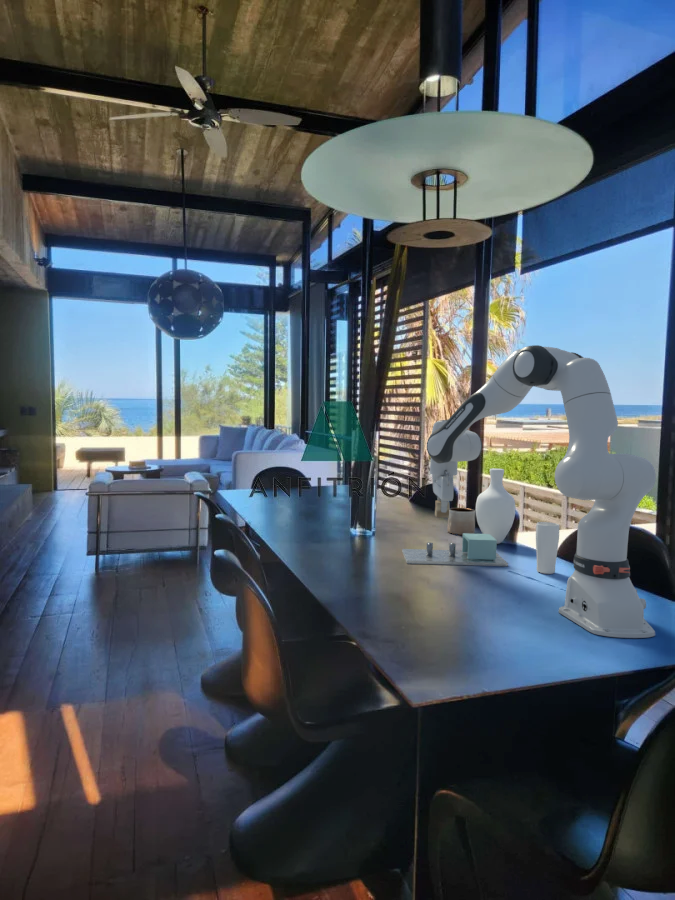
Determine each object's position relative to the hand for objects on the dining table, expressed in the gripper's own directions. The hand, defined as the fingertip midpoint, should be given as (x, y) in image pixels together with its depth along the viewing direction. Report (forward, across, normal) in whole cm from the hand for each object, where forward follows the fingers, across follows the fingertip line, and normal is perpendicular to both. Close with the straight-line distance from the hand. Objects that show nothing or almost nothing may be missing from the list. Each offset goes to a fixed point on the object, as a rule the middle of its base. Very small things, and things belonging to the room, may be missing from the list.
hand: (442, 510), depth 193 cm
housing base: (+16, 0, -4) cm, 16 cm away
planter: (+16, +44, -15) cm, 49 cm away
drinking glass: (+16, -14, -30) cm, 37 cm away
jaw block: (+2, 0, 0) cm, 2 cm away
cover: (+15, 0, -13) cm, 19 cm away
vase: (+16, +26, -24) cm, 39 cm away
